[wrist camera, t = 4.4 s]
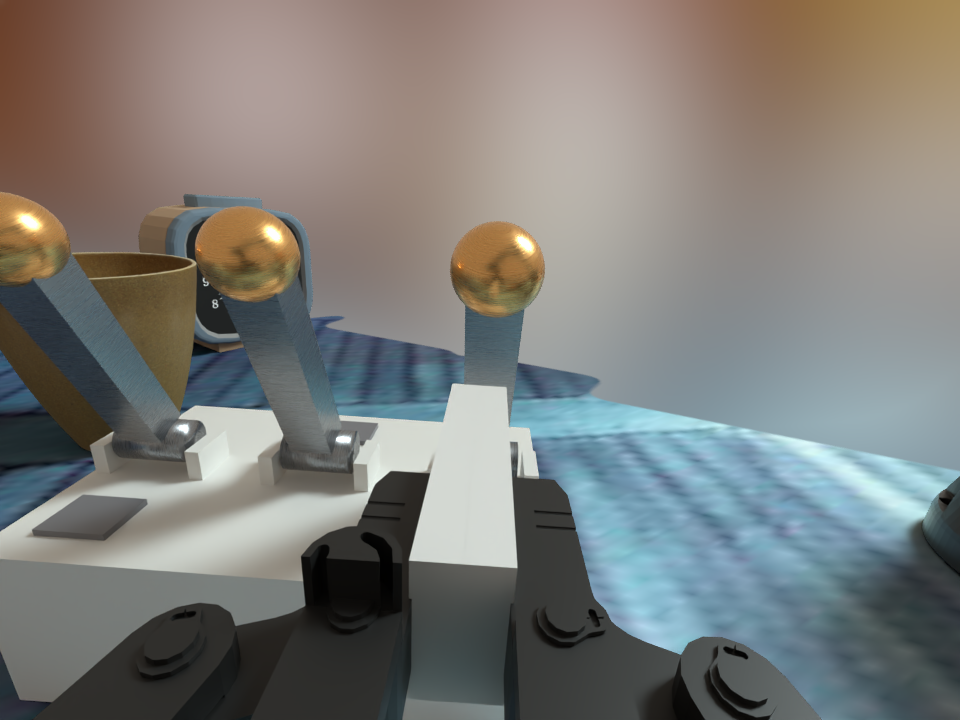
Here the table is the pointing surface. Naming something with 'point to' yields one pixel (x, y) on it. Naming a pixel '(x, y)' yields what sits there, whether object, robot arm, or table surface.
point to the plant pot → (142, 315)
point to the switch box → (191, 542)
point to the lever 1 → (85, 335)
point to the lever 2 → (496, 302)
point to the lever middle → (276, 333)
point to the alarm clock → (177, 237)
